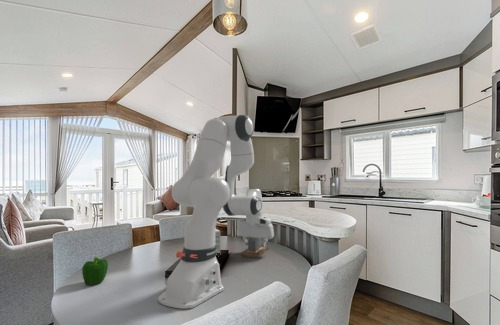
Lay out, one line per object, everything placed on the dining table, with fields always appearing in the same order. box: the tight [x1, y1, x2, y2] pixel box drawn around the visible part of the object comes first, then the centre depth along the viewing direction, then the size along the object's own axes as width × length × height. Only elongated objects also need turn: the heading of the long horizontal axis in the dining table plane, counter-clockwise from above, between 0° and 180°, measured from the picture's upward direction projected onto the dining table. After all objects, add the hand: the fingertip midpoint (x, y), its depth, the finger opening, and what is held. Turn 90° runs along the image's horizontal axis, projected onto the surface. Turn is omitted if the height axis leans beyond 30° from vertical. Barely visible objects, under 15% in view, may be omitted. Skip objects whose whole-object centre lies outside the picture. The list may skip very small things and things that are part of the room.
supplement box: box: [215, 228, 221, 254], centre depth 122 cm, size 7×7×13 cm
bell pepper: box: [81, 256, 109, 286], centre depth 92 cm, size 8×8×10 cm
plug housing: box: [247, 237, 263, 252], centre depth 125 cm, size 9×4×6 cm, turn 156°
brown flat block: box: [240, 245, 269, 259], centre depth 125 cm, size 16×9×6 cm, turn 156°
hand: (255, 246), depth 125 cm, fingers open, 8 cm apart
